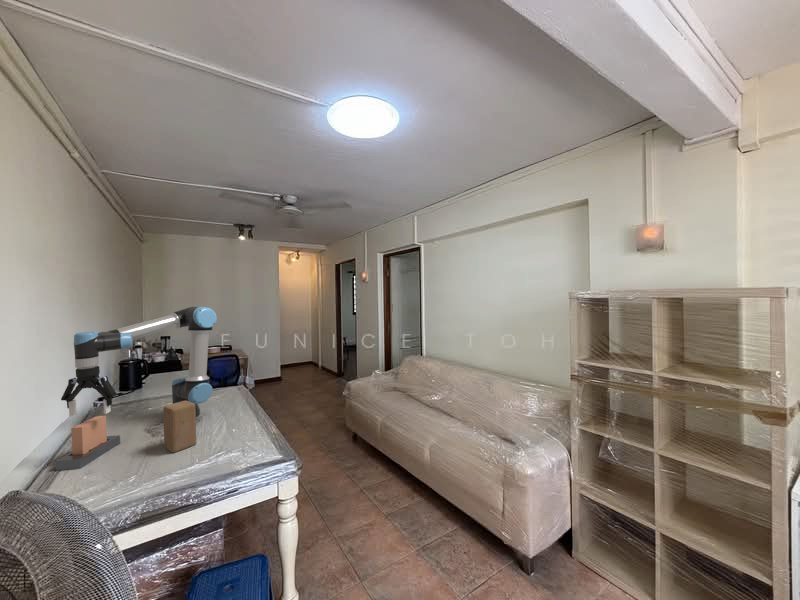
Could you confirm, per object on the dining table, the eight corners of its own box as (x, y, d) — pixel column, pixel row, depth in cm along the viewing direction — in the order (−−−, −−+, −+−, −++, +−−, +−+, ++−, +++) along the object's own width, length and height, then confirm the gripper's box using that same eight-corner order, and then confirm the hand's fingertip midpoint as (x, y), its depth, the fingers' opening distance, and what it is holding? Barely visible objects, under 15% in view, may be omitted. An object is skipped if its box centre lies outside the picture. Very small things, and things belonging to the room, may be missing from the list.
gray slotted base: (120, 443, 151) (119, 435, 151) (80, 468, 130) (80, 459, 130) (99, 444, 150) (98, 436, 150) (55, 470, 128) (55, 460, 128)
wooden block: (173, 453, 141) (172, 409, 140) (163, 448, 146) (162, 405, 146) (197, 444, 149) (196, 403, 149) (187, 439, 155) (186, 399, 154)
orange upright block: (107, 445, 147) (106, 415, 146) (83, 459, 134) (82, 427, 133) (96, 446, 146) (96, 416, 146) (71, 460, 133) (70, 428, 133)
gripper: (124, 363, 145) (127, 408, 145) (63, 366, 141) (66, 412, 142) (112, 367, 137) (115, 415, 138) (47, 370, 134) (50, 419, 134)
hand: (90, 414), depth 140 cm, fingers open, 13 cm apart
